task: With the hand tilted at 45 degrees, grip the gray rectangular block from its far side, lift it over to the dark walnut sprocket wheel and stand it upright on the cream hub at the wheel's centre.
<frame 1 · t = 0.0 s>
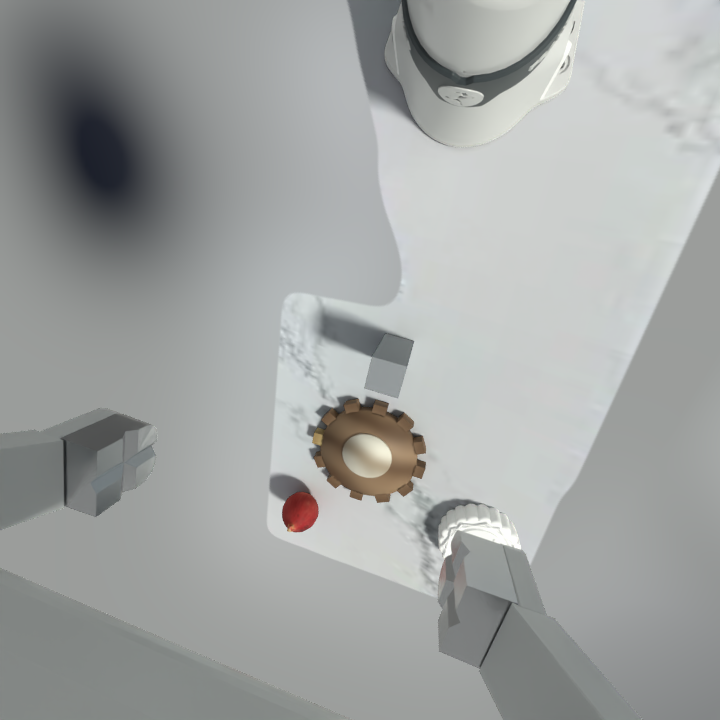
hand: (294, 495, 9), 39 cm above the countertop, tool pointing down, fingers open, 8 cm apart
red fruit: (309, 494, 60), on the countertop
gray rectangular block: (396, 350, 48), on the countertop
sprocket: (369, 449, 54), on the countertop
mooncake: (476, 531, 55), on the countertop
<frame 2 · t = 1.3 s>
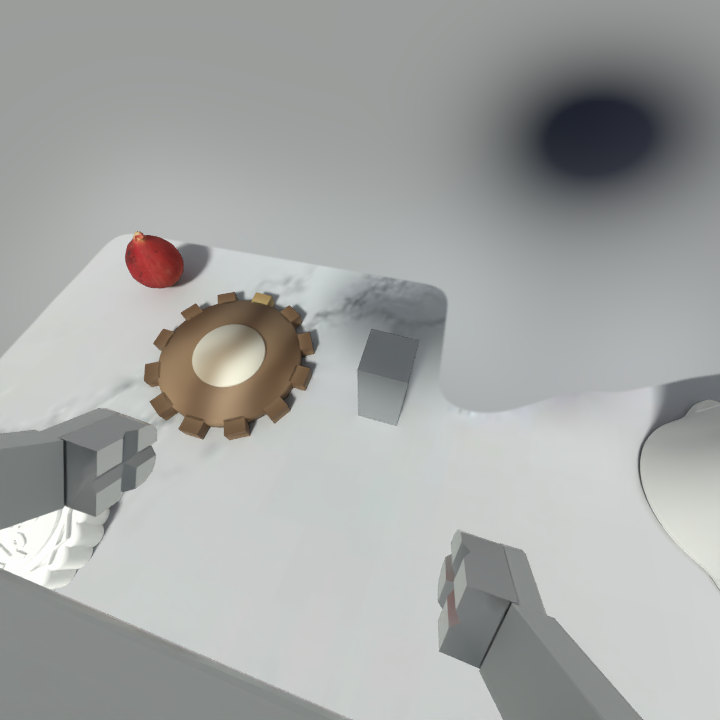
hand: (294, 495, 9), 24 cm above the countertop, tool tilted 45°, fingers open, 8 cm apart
red fruit: (171, 285, 44), on the countertop
gray rectangular block: (382, 402, 36), on the countertop
sprocket: (234, 362, 38), on the countertop
mooncake: (42, 528, 31), on the countertop
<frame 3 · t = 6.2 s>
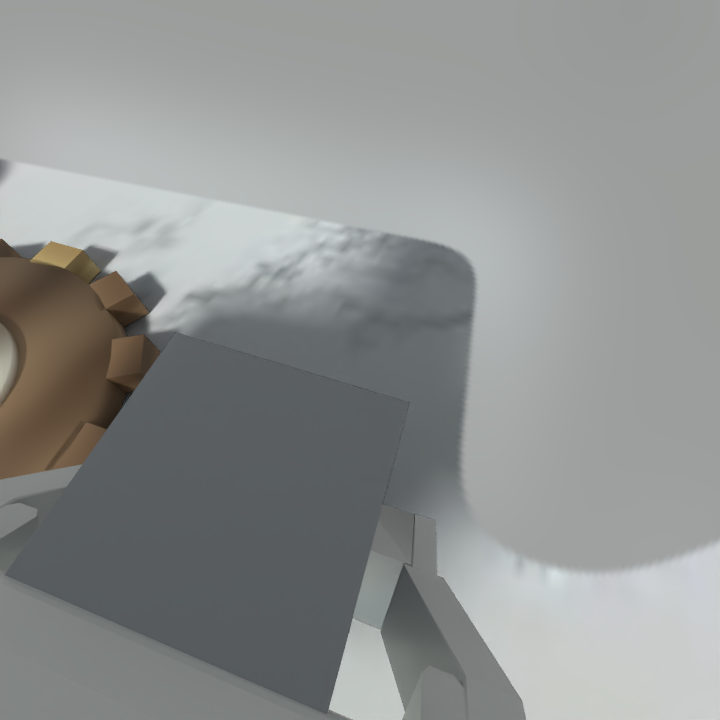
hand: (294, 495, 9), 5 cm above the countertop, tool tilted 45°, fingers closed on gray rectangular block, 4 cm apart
gray rectangular block: (307, 533, 13), on the countertop, touching gripper
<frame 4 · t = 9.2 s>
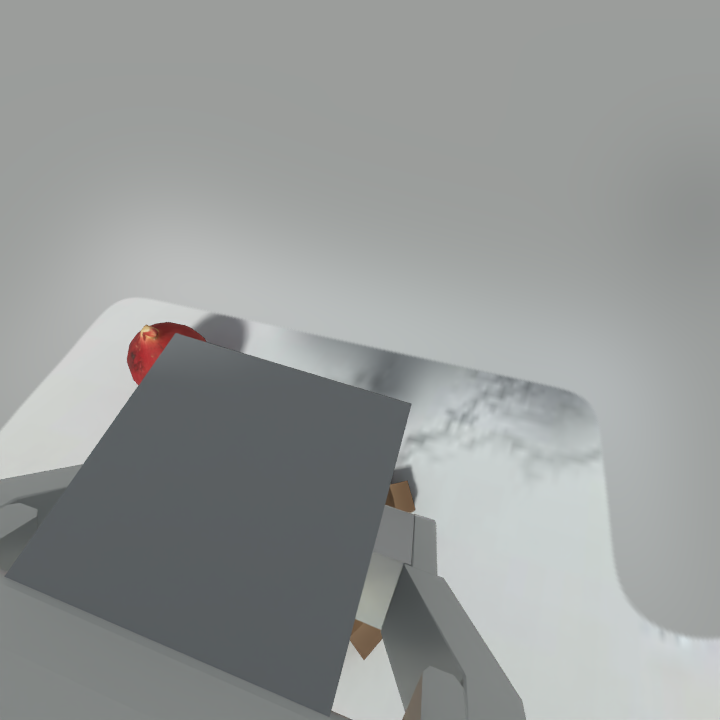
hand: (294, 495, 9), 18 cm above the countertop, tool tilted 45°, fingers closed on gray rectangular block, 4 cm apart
red fruit: (192, 381, 31), on the countertop
gray rectangular block: (307, 534, 13), point 13 cm above the countertop, touching gripper
sprocket: (291, 525, 25), on the countertop
when the fingers open (8 cm above the countertop, at t = 12.1 s): gray rectangular block drops 1 cm, resting on sprocket.
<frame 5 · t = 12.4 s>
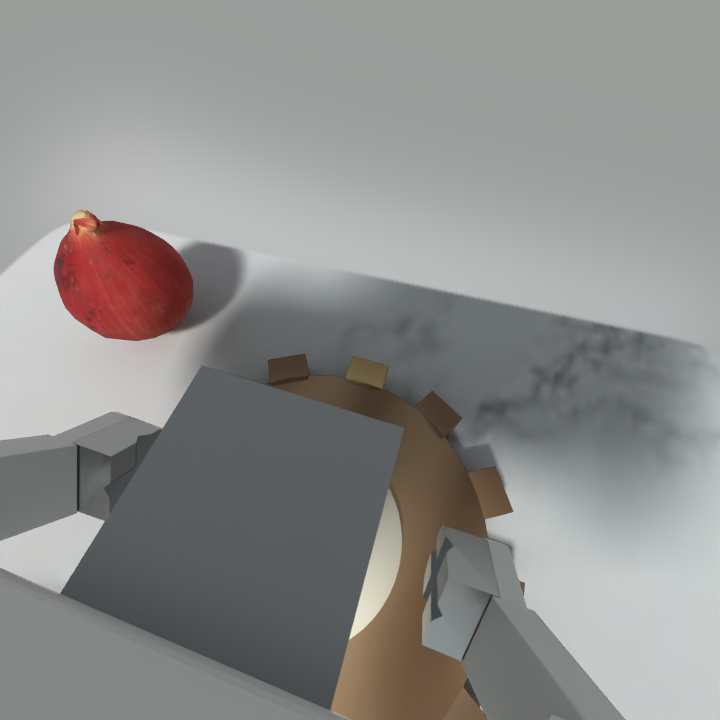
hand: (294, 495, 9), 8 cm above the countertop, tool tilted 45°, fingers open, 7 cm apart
red fruit: (165, 327, 21), on the countertop
gray rectangular block: (311, 536, 14), point 2 cm above the countertop, touching sprocket
sprocket: (313, 536, 16), on the countertop
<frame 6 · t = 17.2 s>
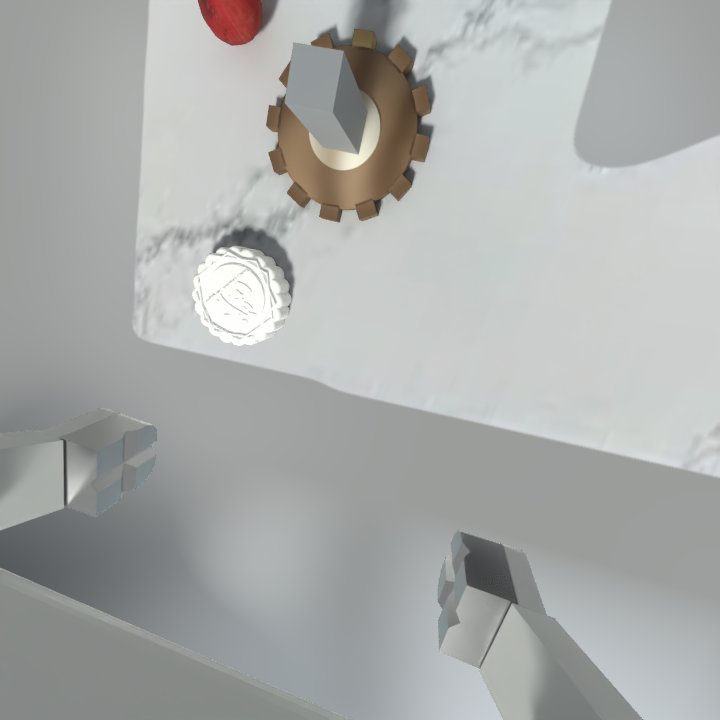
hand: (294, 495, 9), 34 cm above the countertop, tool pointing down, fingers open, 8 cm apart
red fruit: (250, 31, 37), on the countertop
gray rectangular block: (344, 129, 36), point 2 cm above the countertop, touching sprocket
sprocket: (348, 136, 38), on the countertop
mooncake: (249, 295, 45), on the countertop
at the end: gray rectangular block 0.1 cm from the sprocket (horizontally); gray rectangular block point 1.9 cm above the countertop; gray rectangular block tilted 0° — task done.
